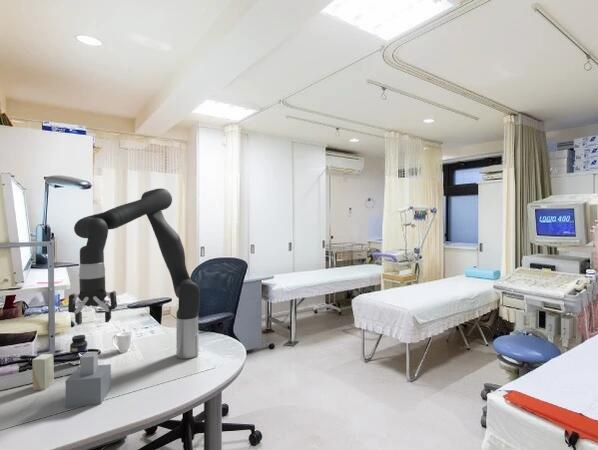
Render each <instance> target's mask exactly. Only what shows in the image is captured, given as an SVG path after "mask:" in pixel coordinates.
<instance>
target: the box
mask: <svg viewBox="0 0 598 450" xmlns="http://www.w3.org/2000/svg"><path fill="white" fill-rule="evenodd" d="M31 360H32V362H31V363H32V365H31V366H32V390H33V391H43V390H44V391H45V390H47V389H48V388H49V387H51V386H52V385H53V384H55V375H54V374H55V372H54V371H55V368H54V363H55V362H54V353H41V354H40V355H38V356H36V357H34V358H33V359H31Z"/></svg>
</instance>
